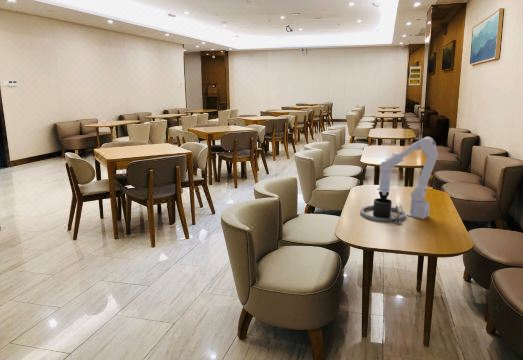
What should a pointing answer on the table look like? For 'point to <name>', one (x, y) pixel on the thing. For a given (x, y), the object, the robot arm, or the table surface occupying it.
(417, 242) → the table surface
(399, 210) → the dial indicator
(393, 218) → the ring
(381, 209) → the mug
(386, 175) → the robot arm
